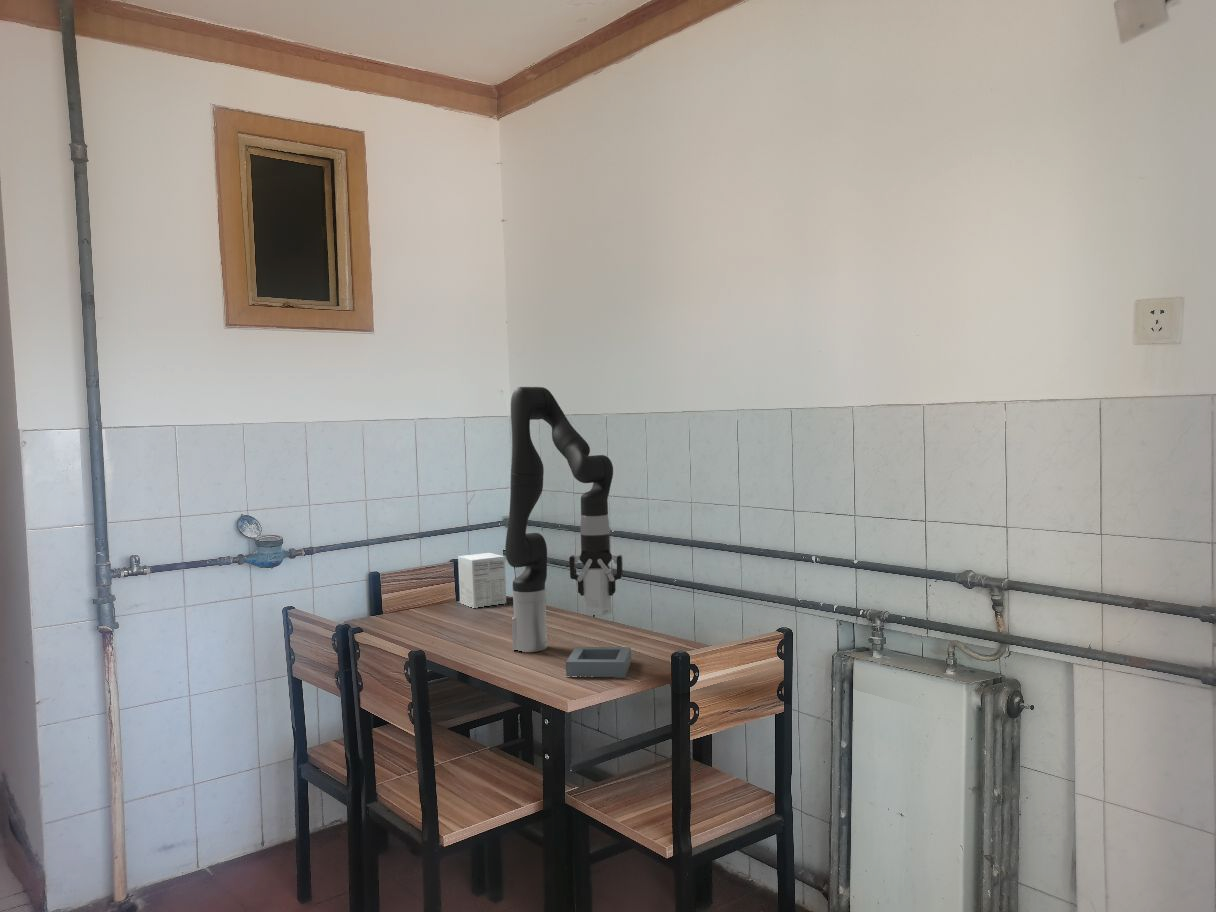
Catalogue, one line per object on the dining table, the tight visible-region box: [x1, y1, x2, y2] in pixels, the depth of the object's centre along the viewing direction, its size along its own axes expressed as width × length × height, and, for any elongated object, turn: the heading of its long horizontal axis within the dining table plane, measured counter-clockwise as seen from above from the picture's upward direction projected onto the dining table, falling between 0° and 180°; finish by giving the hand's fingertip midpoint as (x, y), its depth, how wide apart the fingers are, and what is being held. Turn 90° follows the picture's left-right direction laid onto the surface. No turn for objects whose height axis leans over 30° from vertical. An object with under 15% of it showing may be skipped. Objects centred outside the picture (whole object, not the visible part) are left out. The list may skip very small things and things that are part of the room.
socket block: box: [565, 646, 632, 679], centre depth 237 cm, size 15×15×4 cm
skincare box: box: [583, 568, 612, 617], centre depth 236 cm, size 6×4×12 cm
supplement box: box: [457, 552, 507, 609], centre depth 328 cm, size 13×13×18 cm
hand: (597, 595), depth 236 cm, fingers closed on skincare box, 7 cm apart
